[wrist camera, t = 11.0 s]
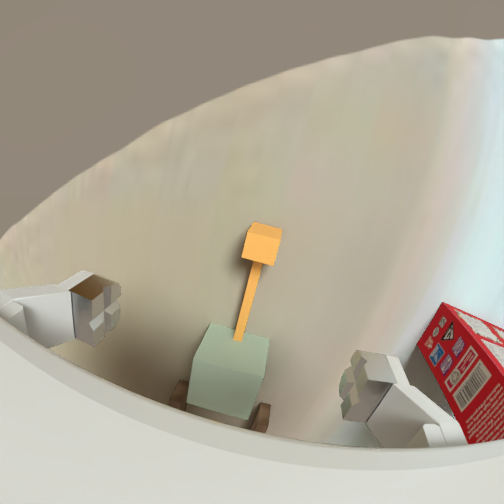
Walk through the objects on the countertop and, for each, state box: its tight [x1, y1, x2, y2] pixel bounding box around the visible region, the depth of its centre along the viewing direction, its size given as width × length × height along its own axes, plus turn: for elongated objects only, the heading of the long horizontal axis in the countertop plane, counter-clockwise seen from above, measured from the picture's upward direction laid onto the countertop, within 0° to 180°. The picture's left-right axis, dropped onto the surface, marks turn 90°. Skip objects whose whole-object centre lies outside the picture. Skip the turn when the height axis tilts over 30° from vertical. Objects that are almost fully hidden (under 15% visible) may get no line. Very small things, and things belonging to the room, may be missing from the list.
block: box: [186, 222, 282, 420], centre depth 25 cm, size 6×17×6 cm, turn 167°
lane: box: [169, 380, 271, 433], centre depth 32 cm, size 11×16×4 cm
